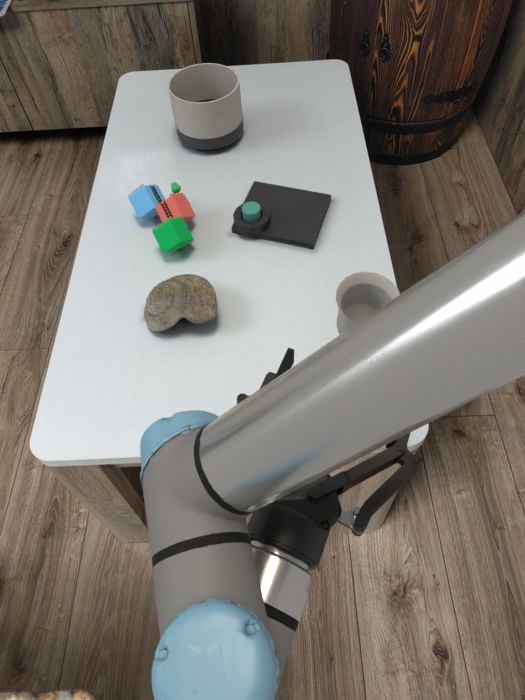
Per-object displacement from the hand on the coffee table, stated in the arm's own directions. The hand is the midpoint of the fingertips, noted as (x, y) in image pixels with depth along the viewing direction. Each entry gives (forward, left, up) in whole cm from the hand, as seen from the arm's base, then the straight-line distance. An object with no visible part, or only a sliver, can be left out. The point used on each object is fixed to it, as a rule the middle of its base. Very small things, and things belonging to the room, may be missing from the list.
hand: (347, 372), depth 57 cm
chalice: (0, -5, -10) cm, 11 cm away
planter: (+38, -51, -10) cm, 64 cm away
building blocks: (+36, -24, -10) cm, 44 cm away
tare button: (+22, -29, -7) cm, 37 cm away
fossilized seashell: (+26, -9, -10) cm, 29 cm away
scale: (+18, -33, -10) cm, 38 cm away
